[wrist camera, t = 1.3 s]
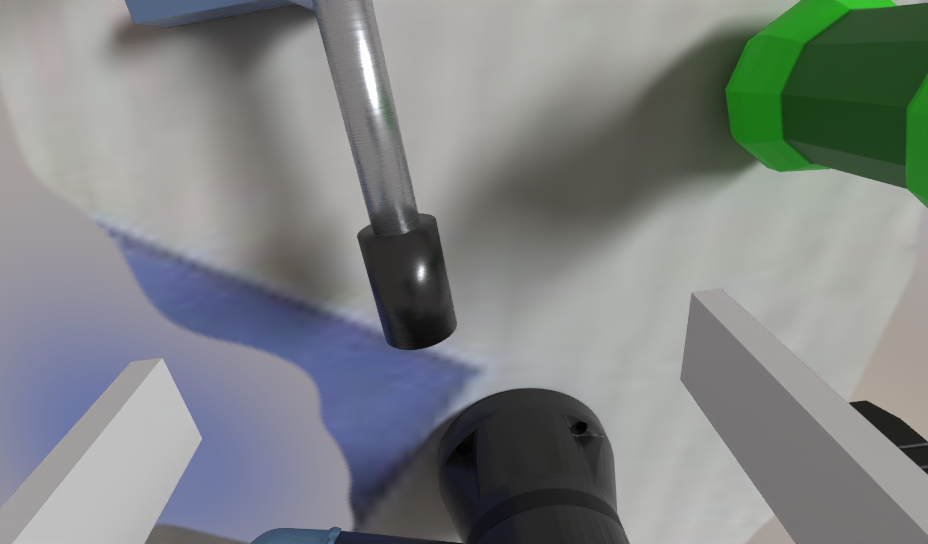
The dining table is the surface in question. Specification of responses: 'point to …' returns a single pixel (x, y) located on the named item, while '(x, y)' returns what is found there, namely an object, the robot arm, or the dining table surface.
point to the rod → (362, 162)
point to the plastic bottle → (838, 91)
